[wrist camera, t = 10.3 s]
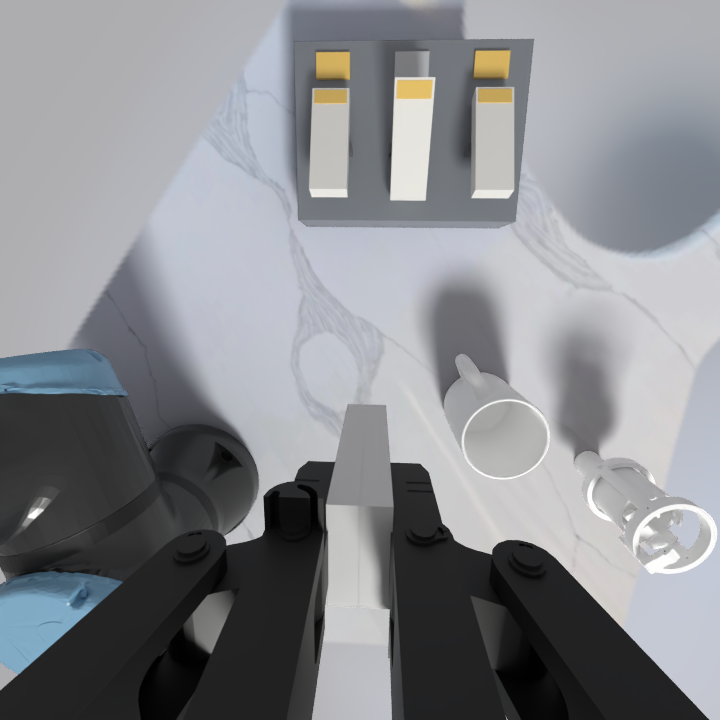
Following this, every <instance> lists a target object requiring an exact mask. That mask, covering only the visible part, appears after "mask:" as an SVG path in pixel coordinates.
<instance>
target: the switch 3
mask: <svg viewBox="0 0 720 720" xmlns="http://www.w3.org/2000/svg"><path fill="white" fill-rule="evenodd" d="M513 191H514V87H476V89H475V92H474V95H473V98H472V131H471V198H509V197H510V195H511V194H512V193H513Z"/></svg>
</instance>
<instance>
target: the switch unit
mask: <svg viewBox="0 0 720 720" xmlns="http://www.w3.org/2000/svg"><path fill="white" fill-rule="evenodd" d="M533 42H534V39H481V40H384V41H294V60H295V104H296V148H297V192H298V220H299V221H300V222H302V223H303V224H304V225H306V226H307V227H412V228H500V227H503V226H506V225H508V224H511V223H513V222H515V221H516V211H517V201H518V191H519V181H520V171H521V162H522V152H523V142H524V132H525V122H526V112H527V102H528V93H529V83H530V73H531V63H532V53H533ZM395 77H435V90H434V102H433V114H432V127H431V139H430V152H429V164H428V177H427V189H426V201H407V200H390V182H391V155H392V128H393V101H394V79H395ZM476 87H514V191H513V193H512V194H511V195H510V197H509V198H471V131H472V98H473V95H474V92H475V89H476ZM313 88H349V89H350V134H349V170H348V197H312V196H311V193H310V190H309V175H310V146H311V118H312V89H313Z"/></svg>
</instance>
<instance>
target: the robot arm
mask: <svg viewBox="0 0 720 720" xmlns="http://www.w3.org/2000/svg"><path fill="white" fill-rule="evenodd" d="M127 396H128V392H127V391H126V390H124V389H123V387H122V385H121V384H120V382H119V380H118V378H117V376H116V374H115V371H114V369H113V367H112V365H111V363H110V362H109V360H108V359H107V358H106V357H105V356H104V355H102V354H100V353H99V352H96V351H93V350H88V349H73V350H62V351H52V352H45V353H36V354H28V355H20V356H13V357H7V358H0V567H1V570H2V572H3V573H4V575H5V577H6V582H4V583H2V584H0V663H2V664H3V665H4V666H6V667H7V668H9V669H10V670H12V671H14V672H15V673H17V674H18V676H16V677H15V678H14V679H13V680H12V681H11V682H9V683H8V684H7V685H6V686H5V687H4V688H3V689H2V690H0V720H312V713H313V706H314V699H315V692H316V685H317V678H318V671H319V664H320V657H321V650H322V643H323V636H324V629H325V603H326V596H327V606H335V607H356V608H377V609H390V621H389V647H388V658H390V670H391V698H392V720H506V717H507V719H508V720H709V719H708V718H707V717H706V716H705V715H704V714H703V713H702V712H701V711H700V710H699V709H698V708H697V706H696V705H695V704H694V703H693V702H692V701H691V700H690V699H689V698H688V697H687V696H686V695H685V694H684V693H683V692H682V691H681V690H680V689H679V688H678V687H677V685H676V684H675V683H674V682H673V681H672V680H671V679H670V678H669V677H668V676H667V675H666V674H665V673H664V672H663V671H662V670H661V669H660V668H659V667H658V665H657V664H656V663H655V662H654V661H653V660H652V659H651V658H650V657H649V656H648V655H647V654H646V653H645V652H644V651H643V650H642V649H641V648H640V647H639V646H638V645H637V643H636V642H635V641H634V640H633V639H632V638H631V637H630V636H629V635H628V634H627V633H626V632H625V631H624V630H623V629H622V628H621V627H620V626H619V625H618V623H617V622H616V621H615V620H614V619H613V618H612V617H611V616H610V615H609V614H608V613H607V612H606V611H605V610H604V609H603V608H602V607H601V606H600V605H599V604H598V602H597V601H596V600H595V599H594V598H593V597H592V596H591V595H590V594H589V593H588V592H587V591H586V590H585V589H584V588H583V587H582V586H581V585H580V584H579V583H578V581H577V580H576V579H575V578H574V577H573V576H572V575H571V574H570V573H569V572H568V571H567V570H566V569H565V568H564V567H563V566H562V565H561V564H560V563H559V562H558V560H557V559H556V558H554V557H553V556H552V555H551V554H549V553H548V552H547V551H546V550H544V549H542V548H540V547H538V546H536V545H534V544H532V543H528V542H524V541H520V540H507V541H504V542H501V543H498V544H497V545H496V546H495V547H494V548H493V551H492V555H491V554H487V553H484V552H480V551H477V550H473V549H471V548H468V547H465V546H463V545H461V544H460V543H458V542H456V541H455V540H454V538H453V535H452V534H451V532H450V530H449V529H448V528H447V527H446V526H445V525H443V524H442V520H441V517H440V513H439V509H438V505H437V502H436V498H435V494H434V491H433V487H432V485H431V479H430V476H429V472H428V471H427V470H426V469H425V468H424V467H423V466H422V465H421V464H413V463H390V453H389V440H388V427H387V414H386V405H360V404H348V406H347V410H346V415H345V420H344V424H343V429H342V433H341V438H340V442H339V447H338V452H337V456H336V461H335V462H316V461H308V462H307V463H306V464H305V465H303V466H302V467H301V468H300V469H299V470H298V472H297V475H296V477H295V481H294V482H286V483H283V484H279V485H277V486H275V487H273V488H272V489H270V490H269V491H268V492H267V493H266V494H265V495H264V496H263V497H264V517H265V531H264V533H263V535H262V536H261V537H259V538H257V539H254V540H251V541H247V542H243V543H238V544H232V545H227V546H226V540H225V538H224V537H223V536H224V535H226V534H228V533H230V532H231V531H233V530H234V529H235V528H237V527H238V526H239V525H240V524H241V523H242V522H243V520H244V519H245V518H246V516H247V515H248V513H249V511H250V510H251V508H252V506H253V504H254V502H255V500H256V497H257V493H258V487H259V479H258V472H257V469H256V466H255V463H254V461H253V459H252V457H251V456H250V454H249V452H248V451H247V450H246V449H245V447H244V446H243V445H242V444H241V443H240V442H239V441H238V440H236V439H235V438H234V437H232V436H231V435H229V434H227V433H226V432H224V431H222V430H219V429H216V428H213V427H210V426H205V425H186V426H181V427H177V428H175V429H172V430H170V431H168V432H167V433H165V434H164V435H162V436H161V437H160V438H158V439H157V440H156V441H154V442H153V443H152V444H151V445H150V446H149V447H147V445H146V443H145V440H144V438H143V436H142V433H141V431H140V428H139V426H138V423H137V421H136V418H135V415H134V413H133V410H132V408H131V405H130V403H129V400H128V398H127ZM505 715H506V716H505Z"/></svg>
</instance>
